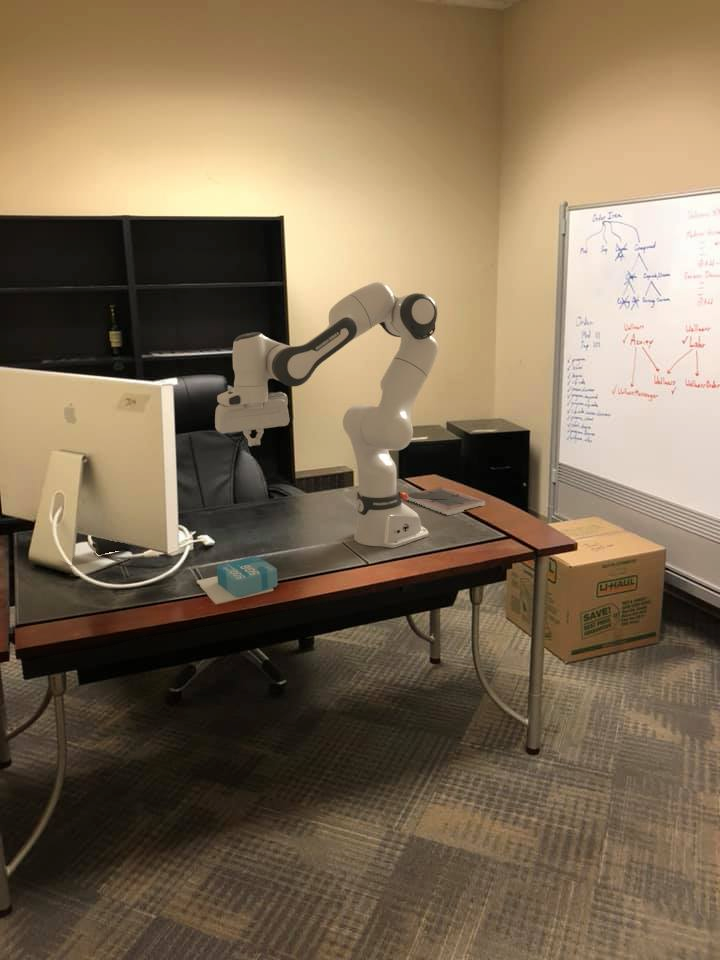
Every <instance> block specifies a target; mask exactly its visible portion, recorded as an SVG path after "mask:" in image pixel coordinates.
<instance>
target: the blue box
mask: <svg viewBox="0 0 720 960" xmlns="http://www.w3.org/2000/svg"><path fill="white" fill-rule="evenodd" d="M216 576H217V578H218V584H219V585H220V586H222V587H223V588H224V589H226V590H227V591H228V592H230V593H231V594H232V595H233V596H235V597H243V596H247V595H250V594H254V593H257V592H260V591H264V590H267V589H271V588H273V589H274V588H277V586H278V583H279V582H278V569H277V567H275V566H274V565H272V564H270V563H269V562H267V561H266V560H264V559H262V557H259V556H250V557H245V558H242V559H238V560H234V561H231V562H230V561H229V562H227V563H223V564H219V565H217V567H216Z"/></svg>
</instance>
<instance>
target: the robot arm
mask: <svg viewBox="0 0 720 960" xmlns="http://www.w3.org/2000/svg"><path fill="white" fill-rule="evenodd" d="M436 304H437V303H436V302H435V300H434V299H433V298H432V297H430V296H429V295H428V294H425V293H419V292H418V293H417V292H415V293H414V292H413V293H412V294H408V295H403V296H400V297H397V296H395V295H394V294H393V292H392V290H391V289H390V288H389V286H388V285H386V284H385V283H383V282H380V281H379V282H378V281H377V282H371V283H370V284H368V285H365V286H362V287H360V288H358V289H356V290H355V291H353V292H351V293H350V294H348V295H345V296H344V297H343V298H341V299H340V300H339V301H338V302H337V303H336V304H334V305H333V306H332V307H331V308H330V310H329V312H328V326H327V327H326V328H325V329H324V330H323V331H321V332H320V333H319V334H317V335H316V336H315V337H313V338H311V340H309V341H308V342H306V343H304V344H302V345H297V346H296V345H295V346H294V345H293V346H292V345H288V344H285V343H282V342H278V341H276V340H274V339H271V338H269V337H267V336H265V335H264V334H263V333H261V332H260V331H253V332H246V333H242V334H240V335H238V336H236V338H235V339H234V341H233V346H232V369H233V371H234V382H233V388H231V389H229V390H227V391H225V392H222V393H220V394H218V395H217V397H216V400H217V402H218V405H217V406H216V408H215V415H214V416H215V417H214V424H215V425H214V428H215V429H216V431H217V432H218V433H220V434H222V435H223V434H229V433H238V432H239V433H240V432H243V435H244V436H245V438H246V439H247V445H248V447H254V446H260V445H261V439H262V437H263V434H264V432H265V431H264V429H269V428H277V427H286V426H288V425H289V423H290V415H289V408H288V404H289V402H288V401H289V399H288V395H287V394H286V393H284V392H282V391H277V392H269V387H268V384H269V383H268V381H269V380H270V379H271V380H272V379H273V380H276V381H278V382H280V383H281V384H283V385H285V386H286V387H287V386H288V387H294V388H295V387H300V386H302V385H303V384H305V383H306V382H307V381H308V380H309V379H310V378H311V377H312V375H313V373H314V372H315V371H316V369H317V368H318V367H319V366H320V365H321V364H322V363H323V362H324V361H326V360H328V359H329V358H331V356H332V355H334V354H335V353H337V352H338V351H340V350H341V349H342V348H344V347H345V346H346V345H348V343H350V342H352V341H353V340H354V339H356V338H358V337H360V336H362V335H363V334H365V333H367V332H368V331H369V330H371V329H373V328H374V327H376V326H377V325H380V326H381V327H382V329H383V331H384V332H386V333H387V334H389V336H392V337H397V338H400V345H399V348H398V350H397V352H396V353H395V356H394V357H393V359H392V360H391V362H390V364H389V366H388V367H387V369H386V370H385V373H384V374H383V376H382V378H381V380H380V383H379V384H380V389H381V391H382V392H381V399H380V400H379V404H378V406H375V405H371V404H357V405H352V406H351V407H349V408H348V409H347V410H346V411H345V413H344V415H343V419H342V426H343V431H345V434H346V435H347V436H348V437H349V439H350V444H351V445H352V449H353V452H354V457H355V460H356V461H355V462H356V467H357V480H358V481H357V482H358V489H357V490H358V491H357V492H356V508H357V520H356V521H357V522H356V527H355V532H354V535H353V540H354V541H355V542H356V543H359V544H361V545H365V546H369V547H385V548H391V549H393V548H394V549H395V548H397V547H401V546H404V545H407V544H409V543H412V542H414V541H417V540H418V541H419V540H421V539H423V538H424V539H425V538H426V537H429V534H430V533H429V531H428V529H427V528H426V527H424V526H422V522H421V518H420V516H419V514H418V513H417V512H416V511H414V510H413V509H412V508H411V507H409V506H408V505H406V504H405V503H403V501H408V500H407V498H408V497H409V496H408V495H407V494H408V493H405V492H401V491H399V490H397V465H396V463H395V461H394V460H393V459H392V456H391V455H390V452H389V451H401V450H405V448H407V447H408V446H409V445H410V443H411V441H412V439H413V436H414V427H413V424H412V420H411V419H412V412H413V407H414V403H415V401H416V399H417V398H418V395H419V393H420V392H421V390H422V388H423V385H424V383H425V382H426V381H427V378H428V376H429V374H430V373H431V371H432V368H433V366H434V364H435V362H436V359H437V356H438V352H439V345H438V342H437V340H436V339H435V338H434V337H433V336H432V335H433V334H434V333H435V330H436V322H437V319H438V307H437V305H436ZM254 430H255V432H256V436H255V437H254V438H252V437H251V434H252V431H254ZM402 500H403V501H402Z"/></svg>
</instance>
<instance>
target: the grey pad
mask: <svg viewBox="0 0 720 960" xmlns="http://www.w3.org/2000/svg"><path fill="white" fill-rule="evenodd" d="M196 584H197V585H198V584H199V585H200V586H199V585H198V586H199V587H200V589H202V591H203V592H204V591H205V592H206V593H207V594H206V593H205V592H204V593H205V594H206V595H207V597H208V598H209V599H210V600H211V601H212V603H214V604H215V605H220V604H224V603H228V602H232V601H237V600H240V599H244V598H249V597H252V596H257V595H262V594H266V593H270V592H273V591H275V590H274V588H271V589H267V590H264V591H260V592H257V593H254V594H250V595H247V596H243V597H235V596H233V595H232V594H231V593H230V592H228V591H227V590H226V589H224V588H223V587H222V586H220V585H219V584H218V578H217V575H216V576H212V577H207V578H203V579H198V580H196Z"/></svg>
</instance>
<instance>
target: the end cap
mask: <svg viewBox="0 0 720 960" xmlns="http://www.w3.org/2000/svg"><path fill="white" fill-rule="evenodd" d="M90 538H91V540H93V541H94V542H92V543H91V546H92V548H93V547H94V548H95V549H94V548H93V549H94V550H96V553H97V554H98V555H101V554H105V553H109V552H115V551H121V552H125V551H129V550H131V549H132V548H133V547H134V545H133V546H132V545H128V544H125V543H120V542H114V541H109V540H105V539H101V538H96V537H92V536H91V537H90Z"/></svg>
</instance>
